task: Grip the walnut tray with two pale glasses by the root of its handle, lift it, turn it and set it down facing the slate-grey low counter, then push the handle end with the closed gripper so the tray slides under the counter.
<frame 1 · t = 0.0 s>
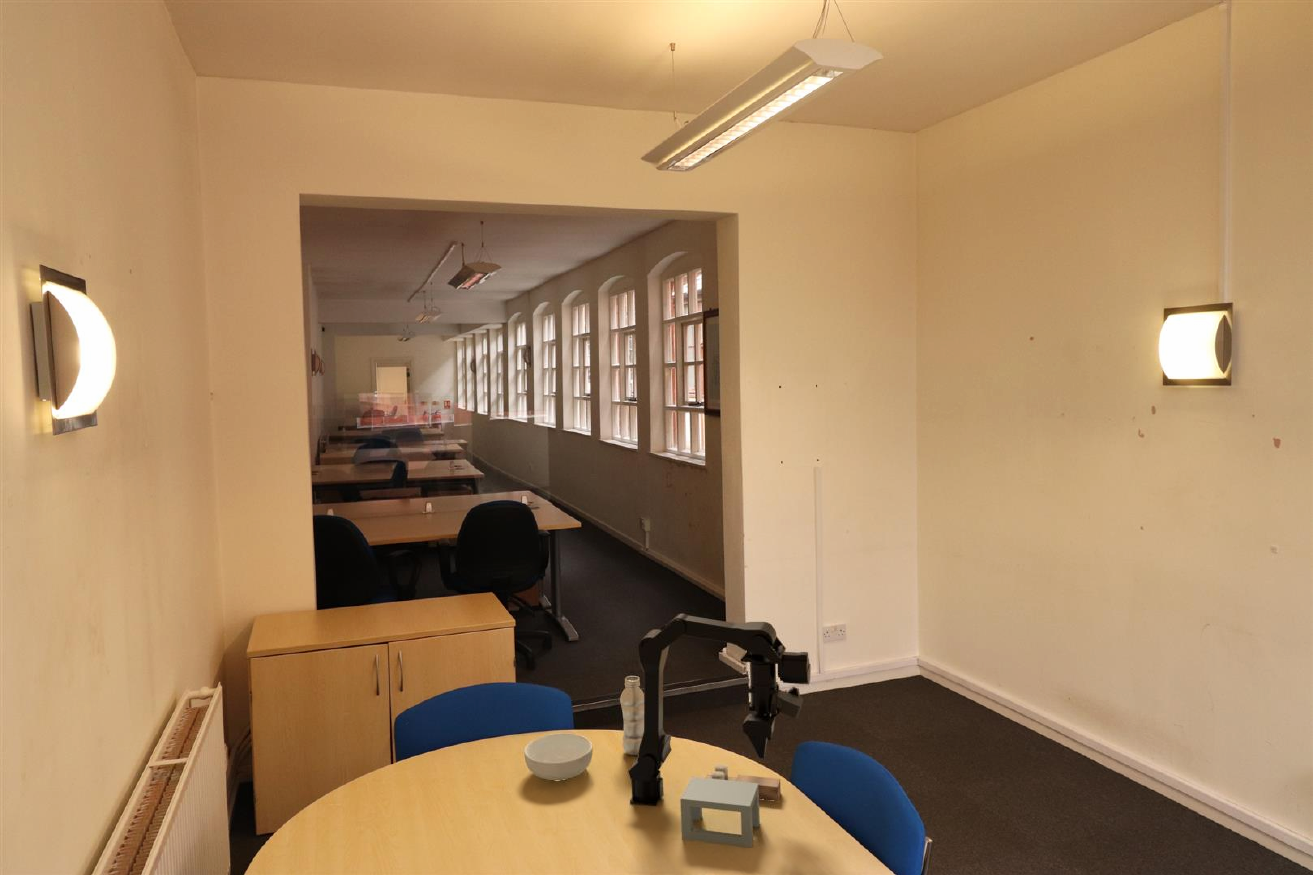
hand: (765, 748, 193), 15 cm above the table, tool pointing down, fingers open, 9 cm apart
plastic bottle: (635, 753, 227), on the table
low counter: (721, 830, 187), on the table
cereal bowl: (560, 774, 217), on the table
glasses tray: (720, 791, 205), on the table
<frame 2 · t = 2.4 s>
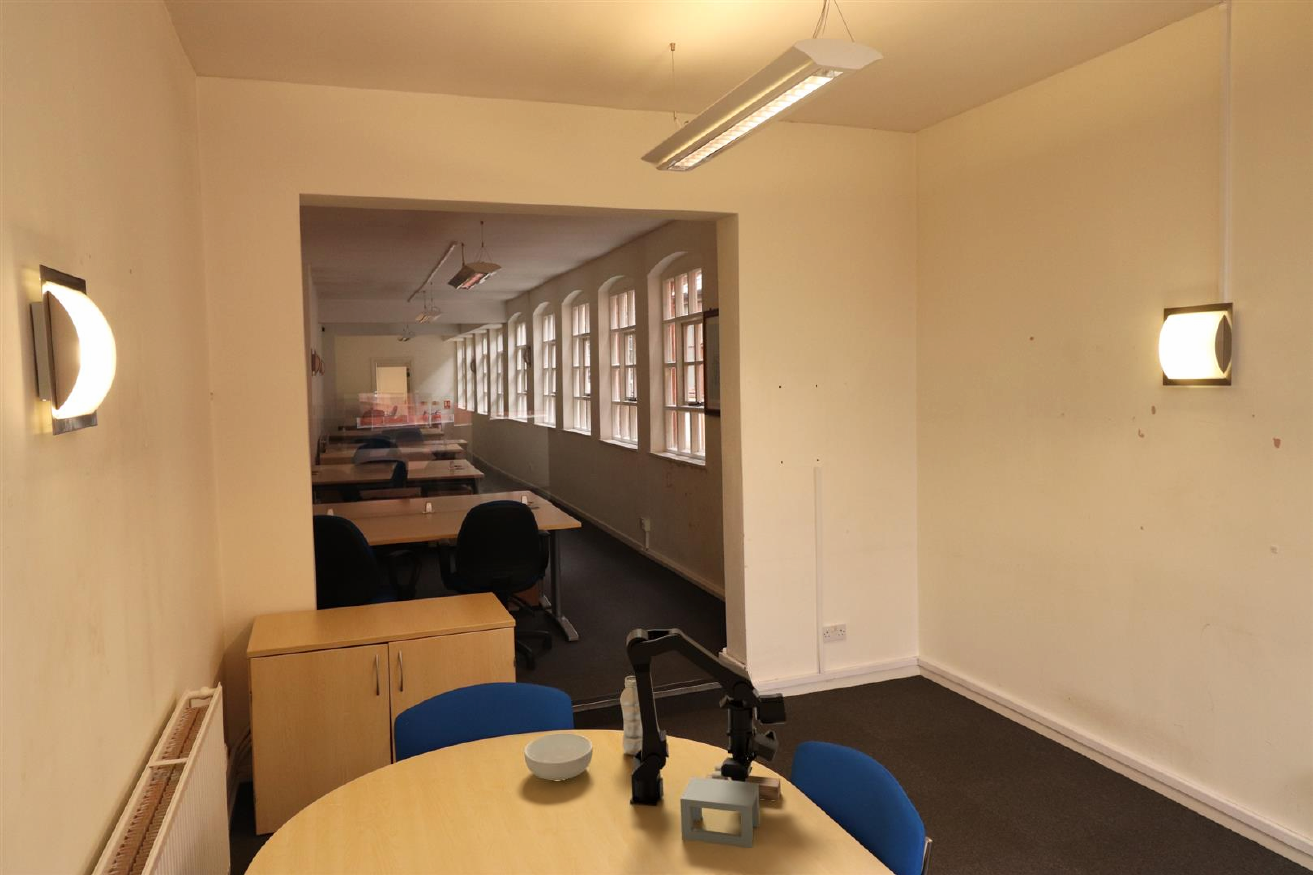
hand: (743, 788, 203), 1 cm above the table, tool pointing down, fingers closed on glasses tray, 4 cm apart
glasses tray: (720, 790, 205), on the table, touching gripper
everything else where it was.
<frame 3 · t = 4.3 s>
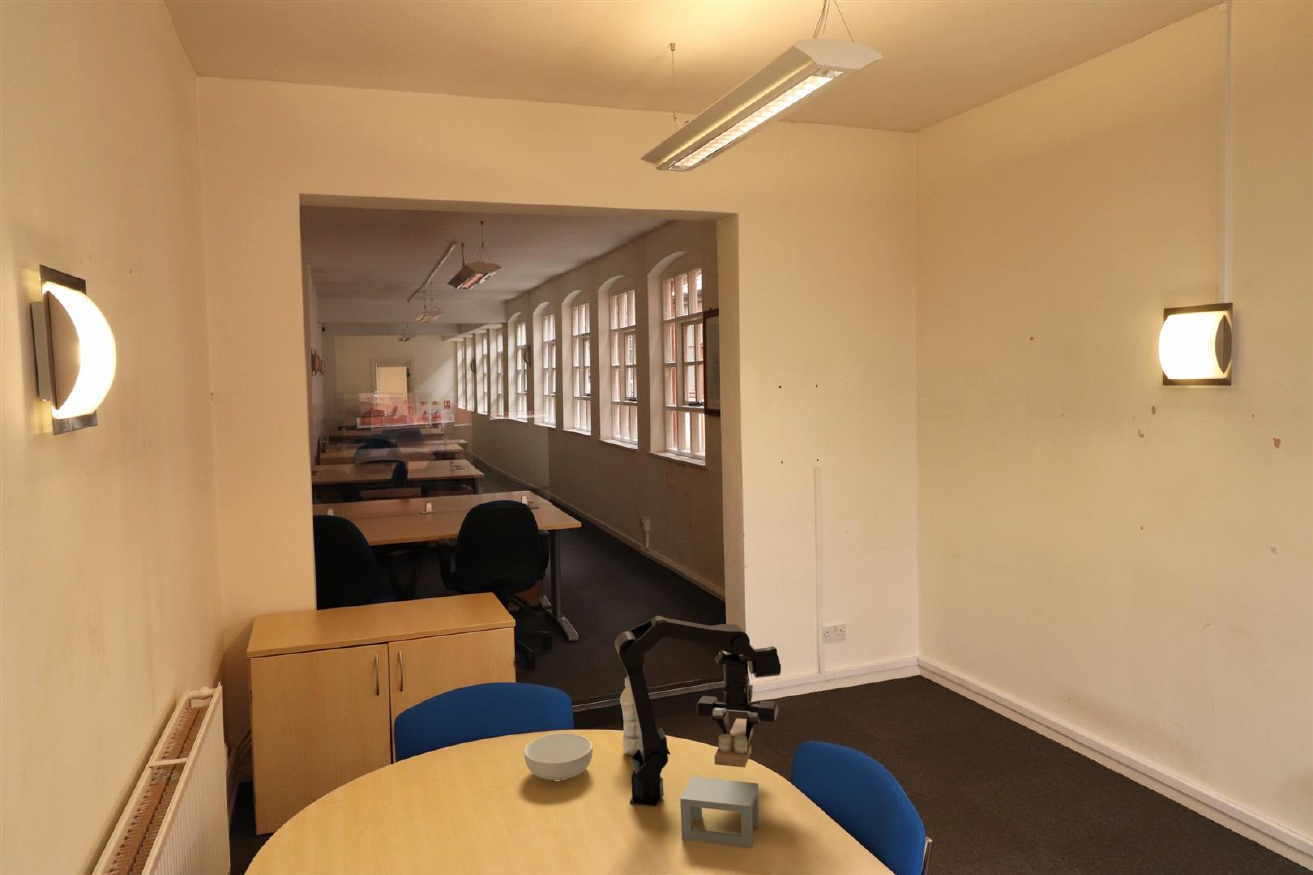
hand: (738, 743, 206), 10 cm above the table, tool pointing down, fingers closed on glasses tray, 4 cm apart
glasses tray: (733, 757, 201), point 9 cm above the table, touching gripper
everything else where it was.
when the fingers open (1 cm above the table, at t = 6.2 s): glasses tray stays where it is, on the table.
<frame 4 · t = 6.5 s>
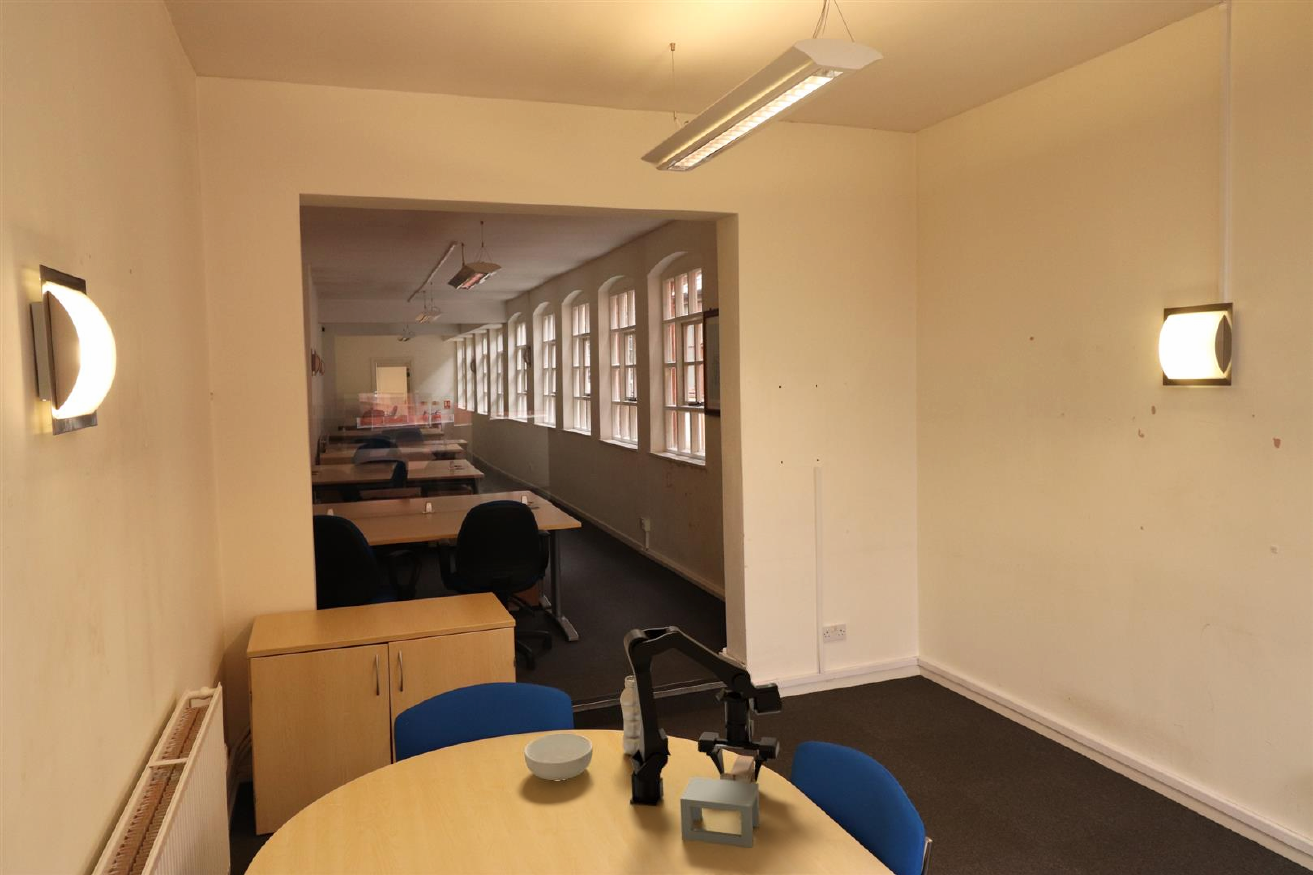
hand: (739, 779, 207), 1 cm above the table, tool pointing down, fingers open, 8 cm apart
glasses tray: (734, 797, 202), on the table
everything else where it was.
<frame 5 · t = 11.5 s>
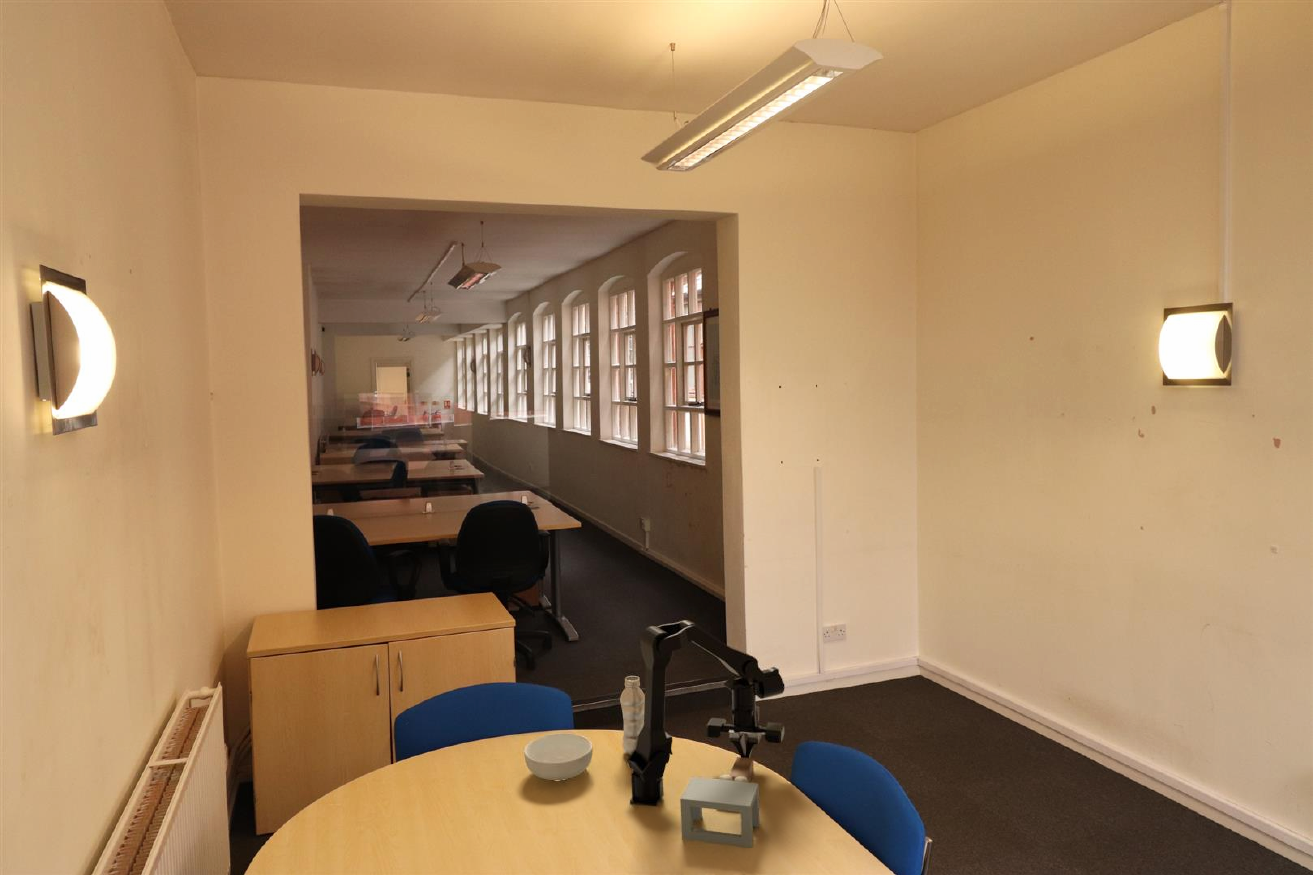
hand: (746, 763, 215), 1 cm above the table, tool pointing down, fingers closed, pressing on glasses tray
glasses tray: (734, 799, 201), on the table, touching gripper
everything else where it was.
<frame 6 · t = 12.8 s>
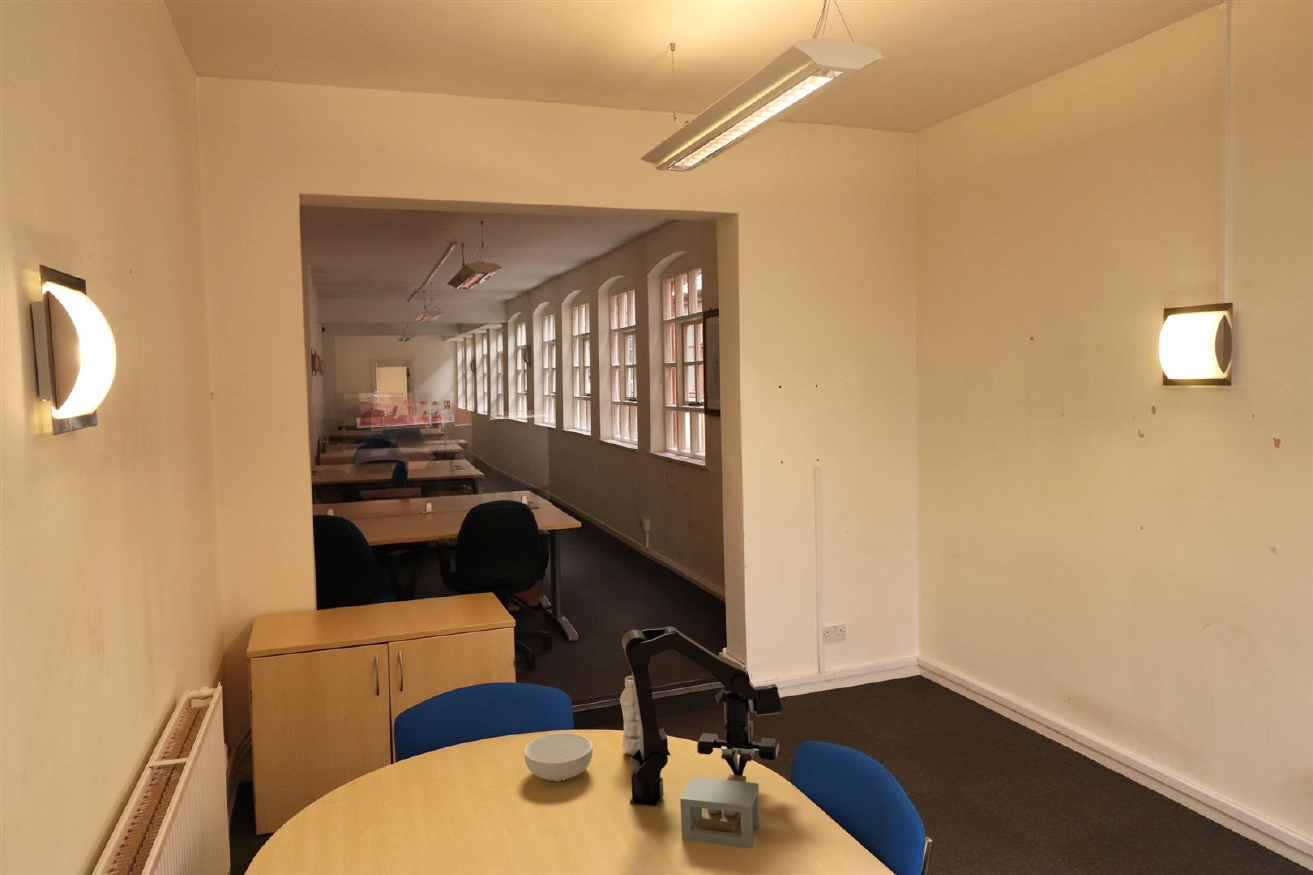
hand: (739, 780, 206), 2 cm above the table, tool pointing down, fingers closed
glasses tray: (722, 819, 192), on the table, touching gripper
everything else where it was.
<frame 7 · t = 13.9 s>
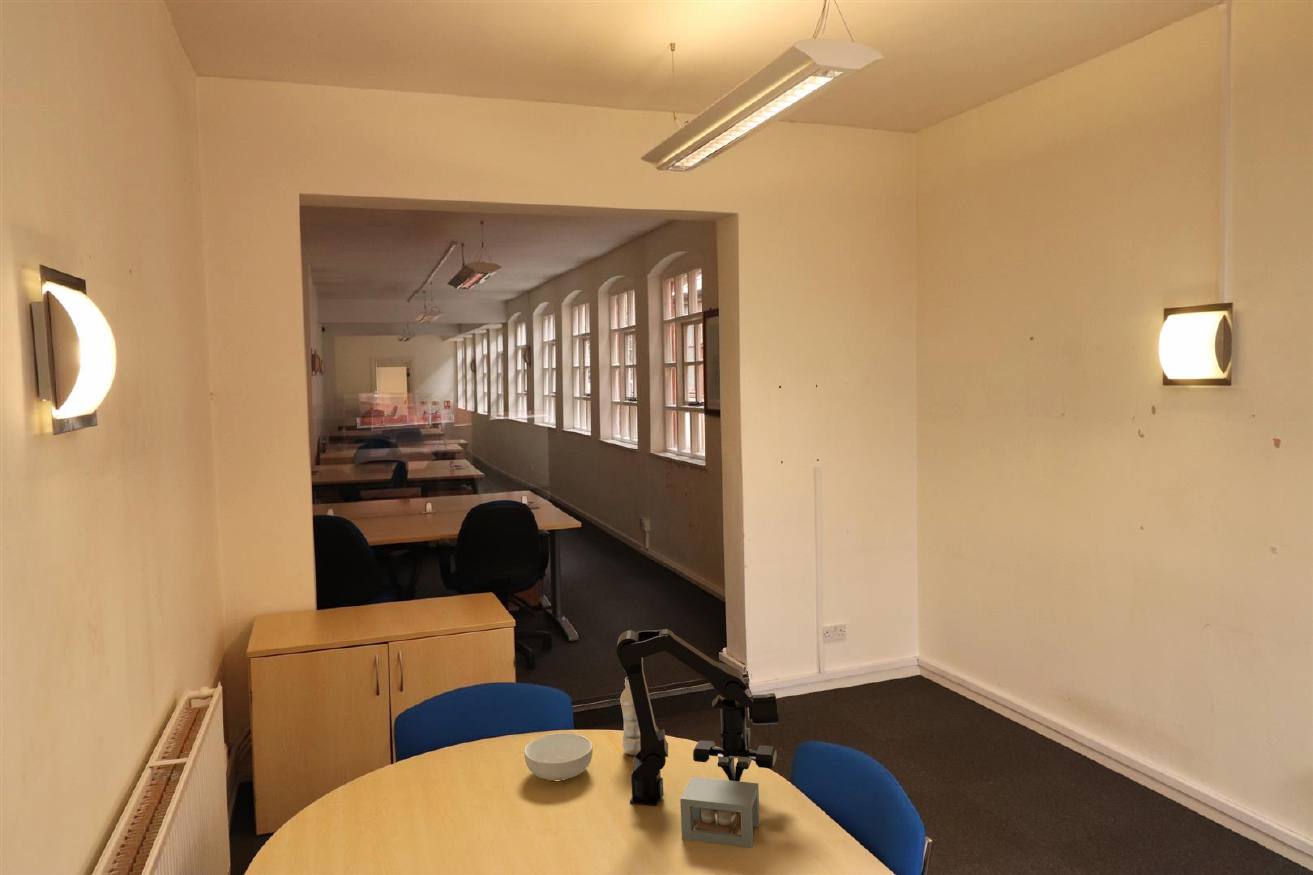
hand: (736, 788, 202), 2 cm above the table, tool pointing down, fingers closed
glasses tray: (716, 829, 188), on the table, touching gripper
everything else where it was.
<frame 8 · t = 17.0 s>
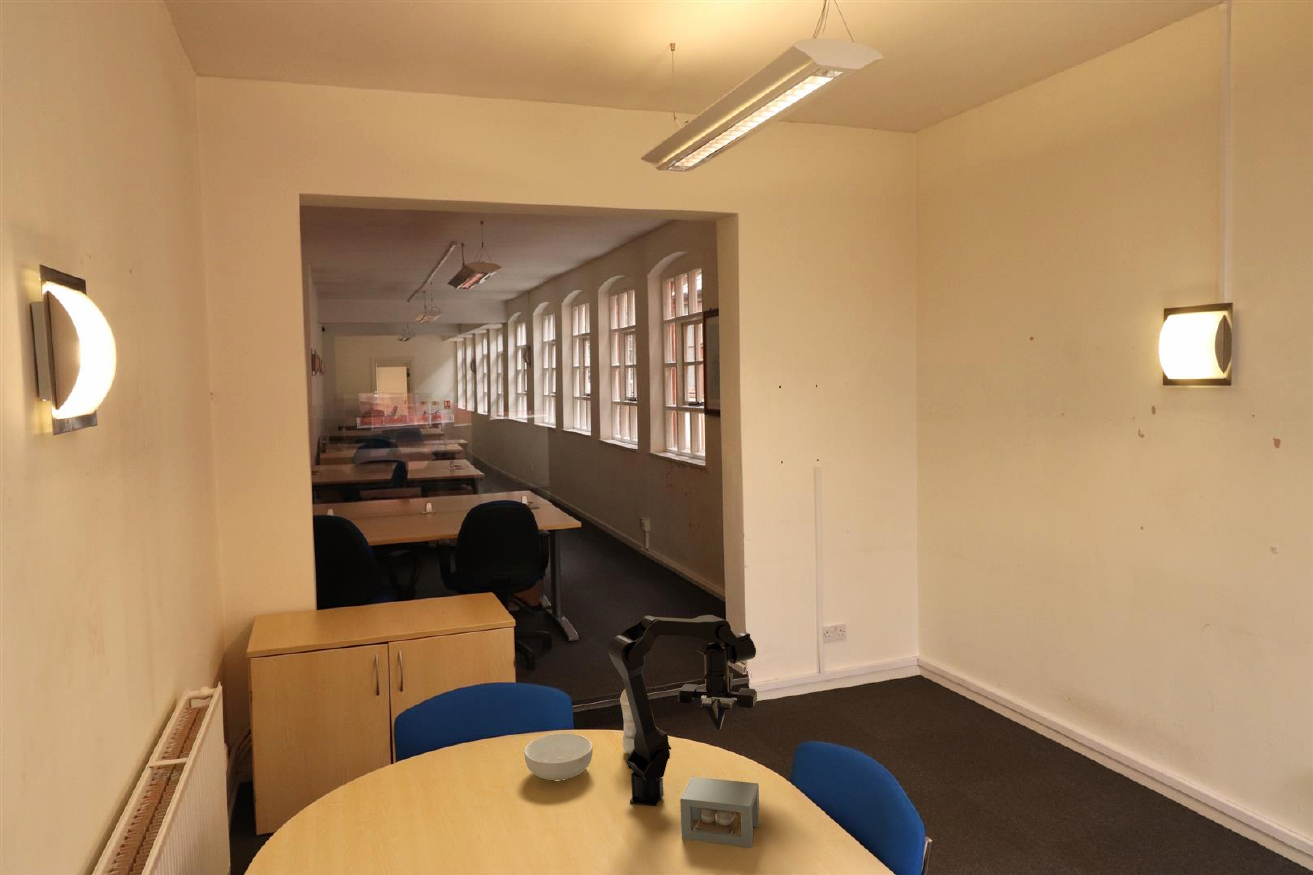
hand: (718, 729, 213), 11 cm above the table, tool pointing down, fingers closed
glasses tray: (716, 829, 188), on the table
everything else where it was.
at the end: glasses tray 1.3 cm off-centre on the low counter, point 0.0 cm above the low counter's base; glasses tray tilted 0°; the gripper is holding nothing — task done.
